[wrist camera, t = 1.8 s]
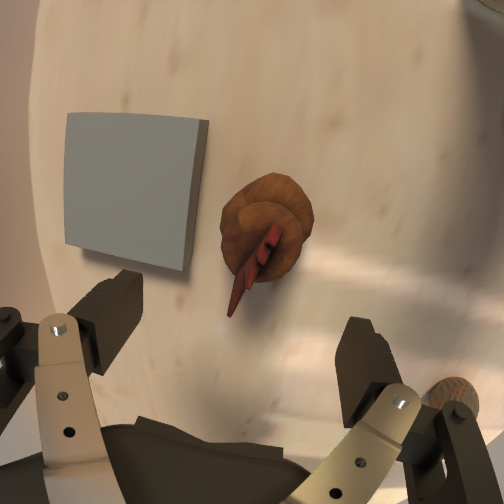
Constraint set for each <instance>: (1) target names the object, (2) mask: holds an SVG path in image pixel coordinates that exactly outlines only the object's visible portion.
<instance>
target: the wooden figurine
mask: <svg viewBox="0 0 504 504" xmlns="http://www.w3.org/2000/svg"><path fill="white" fill-rule="evenodd" d="M313 223H314V215H313V210H312V206H311V202H310V200H309V199H308V197H307V196H306V194H305V193H304V191H303V190H302V188H301V187H300V186H299V185H298V184H297V183H296V182H295V181H294V180H293V179H291V178H290V177H289V176H286V175H282V174H278V173H274V172H273V173H271V174H268V175H266V176H263V177H261V178H258V179H257V180H255V181H253V182H252V183H250V184H248V185H247V186H245V187H244V188H243V189H242V190H240V191H239V192H238V193H236V194H235V195H234V196H233V197H232V199H231V200H230V201H229V202H228V203H227V204H226V205H225V206H224V208H223V211H222V217H221V223H220V231H221V234H222V243H221V250H222V253H223V257H224V261H225V263H226V265H227V266H228V268H229V269H230V271H231V272H232V273H233V274H234V275H235V280H234V285H233V289H232V294H231V299H230V303H229V308H228V312H227V316H228V317H231V316H232V315H233V313H234V311H235V309H236V307H237V305H238V303H239V301H240V299H241V297H242V295H243V293H244V292H245V290H246V289H248V290H249V289H250V288H251V287H252V285H253V282H257V283H260V282H270V281H273V280H276V279H278V278H281V277H283V276H284V275H285V274H286V273H287V272H288V271H290V270H291V268H292V267H293V265H294V264H295V262H296V261H297V259H298V258H299V256H300V253H301V249H302V244H303V243H304V242H305V240H306V239H307V238H308V237H309V236H310V235H311V231H312V227H313Z"/></svg>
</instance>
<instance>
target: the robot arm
mask: <svg viewBox="0 0 504 504" xmlns="http://www.w3.org/2000/svg"><path fill="white" fill-rule="evenodd" d="M480 1H481V2H482V3H483V4H485V5H486V6H488V7H490V8H491V9H493V10H496V11H498V12H503V13H504V0H480ZM142 313H143V275H142V274H141V273H138V272H133V271H129V270H125V269H123V270H122V271H121V272H120V273H119V274H118V275H117V276H116V277H115V278H114V279H110V278H109V279H107V280H104V281H102V282H100V283H98V284H97V285H96V286H95V287H94V288H93V289H92V290H91V291H90V292H89V293H88V294H86V297H83V298H82V299H81V300H80V301H79V302H78V303H77V304H76V305H75V306H74V307H73V308H72V309H71V310H70V311H69V312H68V313H67V314H62V313H58V314H53V315H50V316H47V317H46V318H44V319H43V320H42V321H41V322H40V324H35V323H27V322H22V318H21V314H20V312H19V311H18V310H17V309H15V308H13V307H2V308H0V360H1V363H2V365H3V366H2V367H1V368H0V436H1V434H2V432H3V431H4V429H5V428H6V426H7V424H8V423H9V421H10V420H11V418H12V417H13V415H14V414H15V412H16V410H17V409H18V407H19V406H20V405H21V403H22V402H23V400H24V399H25V397H26V396H27V394H28V393H29V392H30V390H31V389H32V387H33V386H34V384H35V391H36V404H37V415H38V424H39V432H40V439H41V446H42V452H39V453H36V454H34V455H31V456H29V457H25V458H23V459H20V460H17V461H14V462H11V463H8V464H5V465H2V466H0V504H367V503H368V501H369V500H370V499H371V497H372V496H373V494H374V493H375V491H376V490H377V488H378V487H379V485H380V484H381V482H382V481H383V479H384V478H385V476H386V475H387V473H388V472H389V470H390V468H391V467H392V465H393V463H394V462H395V460H396V461H400V462H403V466H404V473H405V480H406V487H407V495H408V502H409V504H504V503H503V499H502V496H501V492H500V489H499V485H498V482H497V479H496V475H495V472H494V469H493V466H492V463H491V460H490V457H489V454H488V451H487V448H486V445H485V442H484V440H483V437H482V434H481V432H480V429H479V426H478V424H477V421H476V419H475V416H474V414H473V412H472V411H471V409H470V408H469V407H468V406H467V405H465V404H464V403H462V402H460V401H456V400H451V401H447V402H446V403H445V404H444V405H443V406H442V408H441V409H436V408H433V407H429V406H426V405H423V404H421V399H420V397H419V395H418V394H417V393H416V392H415V391H414V390H413V389H412V388H410V387H408V386H406V385H404V384H403V382H402V379H401V376H400V374H399V371H398V368H397V365H396V363H395V361H394V357H393V355H392V353H391V350H390V347H389V344H388V342H387V341H386V340H385V339H384V338H383V337H382V335H381V334H379V333H375V331H374V328H373V326H372V323H371V320H370V319H365V318H359V317H350V318H349V320H348V322H347V325H346V327H345V330H344V332H343V335H342V337H341V340H340V342H339V345H338V347H337V350H336V355H335V367H336V373H337V380H338V387H339V394H340V401H341V409H342V416H343V424H344V428H352V429H351V430H350V432H349V433H348V434H347V435H346V436H345V438H344V439H343V440H342V441H341V442H340V443H339V445H338V446H337V447H336V448H335V449H334V450H333V451H332V452H331V454H330V455H329V456H328V457H327V458H326V459H325V460H324V461H323V462H322V463H321V464H320V465H319V467H318V468H317V469H316V470H315V471H314V472H313V473H312V474H311V473H310V472H309V471H307V470H306V469H305V468H303V467H302V466H300V465H298V464H296V463H294V462H292V461H290V460H288V459H285V458H283V448H281V447H274V446H267V445H260V444H254V443H248V442H245V443H209V442H205V441H203V440H200V439H198V438H196V437H194V436H192V435H190V434H188V433H186V432H184V431H182V430H180V429H178V428H176V427H174V426H171V425H168V424H164V423H161V422H158V421H154V420H151V419H148V418H144V417H141V416H138V418H137V420H136V422H135V424H134V425H132V424H118V425H110V426H105V427H102V428H101V425H100V422H99V418H98V415H97V411H96V407H95V403H94V399H93V395H92V391H91V387H90V383H89V376H90V375H91V373H92V372H93V373H96V374H98V375H101V376H103V375H104V374H105V372H106V371H107V369H108V368H109V366H110V365H111V363H112V362H113V360H114V359H115V357H116V356H117V354H118V353H119V351H120V350H121V348H122V347H123V345H124V344H125V342H126V341H127V339H128V338H129V336H130V335H131V334H132V332H133V331H134V329H135V328H136V326H137V325H138V323H139V322H140V320H141V317H142ZM443 459H444V460H445V464H446V468H447V477H446V478H445V473H444V469H443V465H442V460H443Z"/></svg>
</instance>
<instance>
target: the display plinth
mask: <svg viewBox="0 0 504 504" xmlns="http://www.w3.org/2000/svg"><path fill="white" fill-rule="evenodd" d="M208 124H209V120H202V119H193V118H183V117H172V116H160V115H146V114H128V113H90V112H84V113H68V114H67V124H66V137H65V154H64V227H65V244H68V245H72V246H76V247H81V248H85V249H89V250H93V251H97V252H101V253H105V254H109V255H114V256H118V257H122V258H126V259H131V260H135V261H139V262H144V263H148V264H152V265H157V266H161V267H166V268H170V269H175V270H179V271H183V270H184V268H185V267H186V265H187V264H188V262H189V261H190V260H191V258H192V250H193V240H194V231H195V221H196V213H197V204H198V196H199V188H200V180H201V172H202V165H203V157H204V150H205V143H206V137H207V130H208Z"/></svg>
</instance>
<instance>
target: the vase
mask: <svg viewBox="0 0 504 504" xmlns="http://www.w3.org/2000/svg"><path fill="white" fill-rule="evenodd" d="M451 400H456V401H460V402H462V403H464V404H465V405H467V406H468V407H469V408H470V409H471V411H472V412H473V414H474V416H475V419H477V416H478V412H479V399H478V395H477V392H476V390H475V389H474V387H473V386H472V385H471V384H470V383H469V382H468V381H467V380H465V379H463V378H460V377H450V378H447V379H444V380H443V381H441V382H440V383H439V384H437V386H436V387H435V388H434V390H433V391H432V393H431V395H430V398H429V405H428V406H429V407H433V408H436V409H441V408H442V406H443V405H444V404H445V403H446V402H447V401H451Z"/></svg>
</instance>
